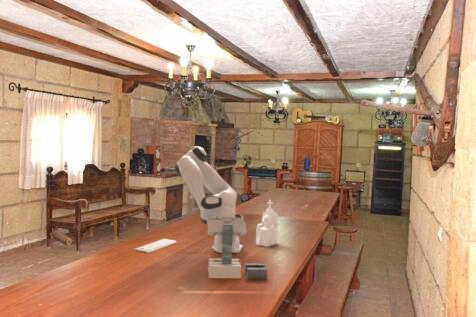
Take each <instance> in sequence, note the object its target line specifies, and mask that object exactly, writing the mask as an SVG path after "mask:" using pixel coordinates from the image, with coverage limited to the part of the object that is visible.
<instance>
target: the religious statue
mask: <svg viewBox="0 0 476 317" xmlns="http://www.w3.org/2000/svg"><path fill="white" fill-rule="evenodd" d="M266 204H267V205H268V207H267V208H266V210H265V211H264V212H263V213H262V217H261V218H262V219H261V223H257V225H256V229H255V230H256V231H255V243H256V246H261V247H266V248H268V247H271V246H274V245H277V243H278V232H279V228H278V217H279V214H278V213H277V212H276V211H274V209H273V207H272V206H273V205H274V202H273V201H272V199H268V201H266Z"/></svg>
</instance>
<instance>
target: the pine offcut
mask: <svg viewBox="0 0 476 317" xmlns="http://www.w3.org/2000/svg"><path fill="white" fill-rule="evenodd" d="M213 259H214V262H222V257H213Z"/></svg>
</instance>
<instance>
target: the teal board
mask: <svg viewBox="0 0 476 317" xmlns="http://www.w3.org/2000/svg"><path fill="white" fill-rule="evenodd" d="M222 238H223V241H222V253H221V258H222V264H232V259H233V253H232V240H233V224H223V234H222Z"/></svg>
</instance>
